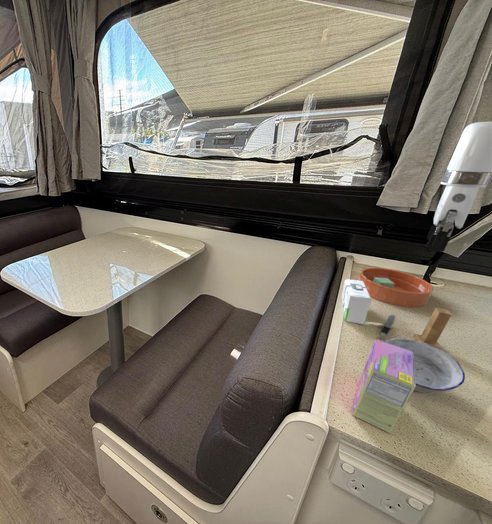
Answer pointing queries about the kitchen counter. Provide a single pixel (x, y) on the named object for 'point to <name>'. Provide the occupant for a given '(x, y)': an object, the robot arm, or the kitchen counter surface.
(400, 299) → the bowl
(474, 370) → the kitchen counter surface
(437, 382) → the bowl
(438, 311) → the brown wooden post
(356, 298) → the ink box
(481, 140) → the robot arm
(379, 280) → the block
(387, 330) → the knife
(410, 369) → the box
